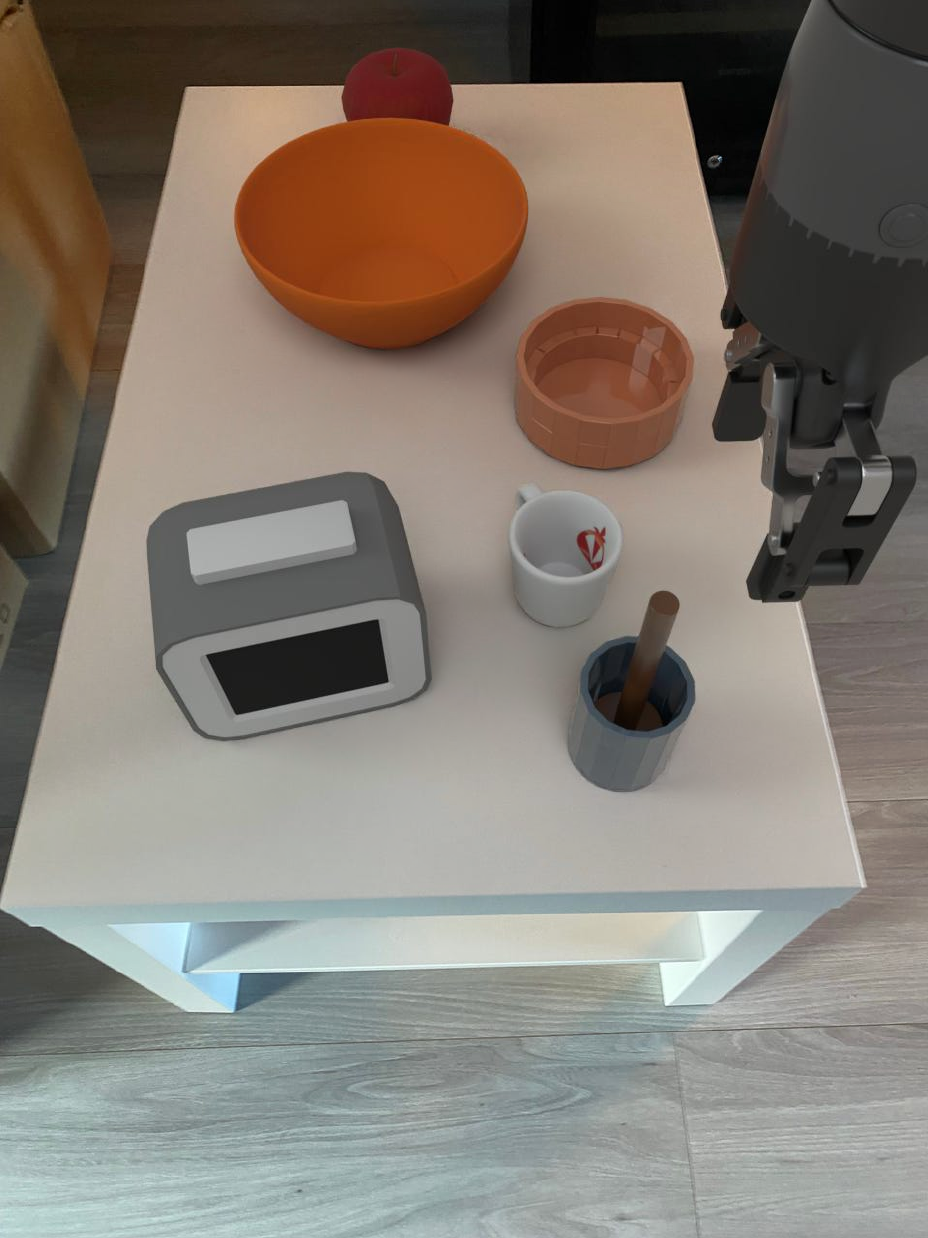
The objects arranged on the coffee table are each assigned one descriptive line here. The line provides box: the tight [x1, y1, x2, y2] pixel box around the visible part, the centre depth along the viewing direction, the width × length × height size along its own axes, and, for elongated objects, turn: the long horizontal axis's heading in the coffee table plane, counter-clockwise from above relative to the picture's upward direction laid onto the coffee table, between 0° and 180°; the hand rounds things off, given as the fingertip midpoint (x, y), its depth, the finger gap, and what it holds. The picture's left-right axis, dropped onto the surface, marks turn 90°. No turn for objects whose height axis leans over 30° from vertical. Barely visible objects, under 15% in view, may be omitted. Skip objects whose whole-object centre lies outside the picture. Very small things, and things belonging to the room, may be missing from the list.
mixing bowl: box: [513, 296, 695, 470], centre depth 79 cm, size 14×14×6 cm
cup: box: [508, 482, 625, 628], centre depth 69 cm, size 11×8×8 cm
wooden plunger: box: [594, 590, 681, 732], centre depth 58 cm, size 5×5×18 cm
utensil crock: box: [567, 635, 696, 793], centre depth 62 cm, size 7×7×9 cm
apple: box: [340, 47, 454, 126], centre depth 95 cm, size 11×11×12 cm
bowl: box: [233, 118, 529, 350], centre depth 85 cm, size 25×25×10 cm
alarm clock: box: [145, 471, 432, 742], centre depth 63 cm, size 16×11×16 cm
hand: (752, 509), depth 41 cm, fingers open, 8 cm apart
